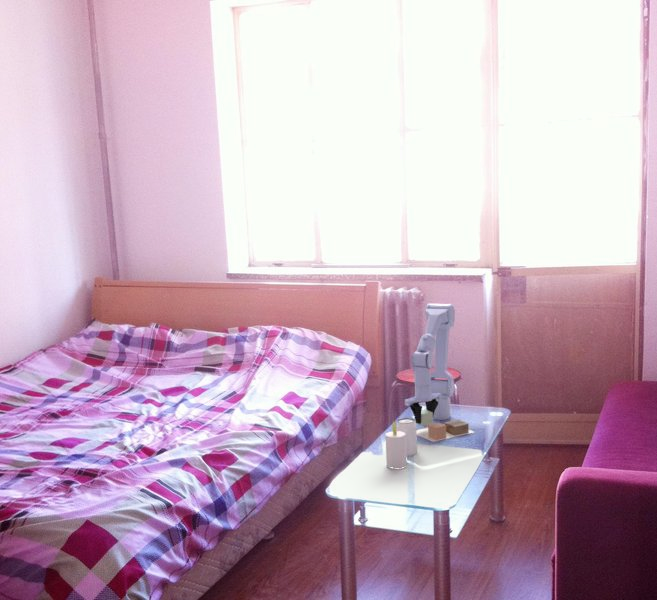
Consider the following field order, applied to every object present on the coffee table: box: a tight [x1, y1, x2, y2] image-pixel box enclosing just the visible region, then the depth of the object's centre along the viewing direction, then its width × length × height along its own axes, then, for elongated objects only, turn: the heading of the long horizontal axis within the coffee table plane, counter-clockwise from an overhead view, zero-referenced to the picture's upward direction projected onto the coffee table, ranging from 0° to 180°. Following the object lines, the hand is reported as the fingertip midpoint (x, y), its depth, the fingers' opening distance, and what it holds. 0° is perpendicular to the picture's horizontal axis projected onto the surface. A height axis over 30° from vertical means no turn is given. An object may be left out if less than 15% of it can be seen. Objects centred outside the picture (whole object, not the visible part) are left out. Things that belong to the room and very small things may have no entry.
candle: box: [384, 420, 407, 468], centre depth 244 cm, size 6×6×15 cm
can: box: [396, 417, 418, 457], centre depth 253 cm, size 6×6×12 cm
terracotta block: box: [427, 422, 446, 441], centre depth 268 cm, size 4×4×4 cm
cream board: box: [416, 423, 475, 443], centre depth 274 cm, size 14×18×1 cm
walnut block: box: [444, 419, 470, 435], centre depth 273 cm, size 6×6×3 cm
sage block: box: [415, 408, 434, 427], centre depth 274 cm, size 4×4×4 cm
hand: (424, 421), depth 275 cm, fingers closed on sage block, 4 cm apart
